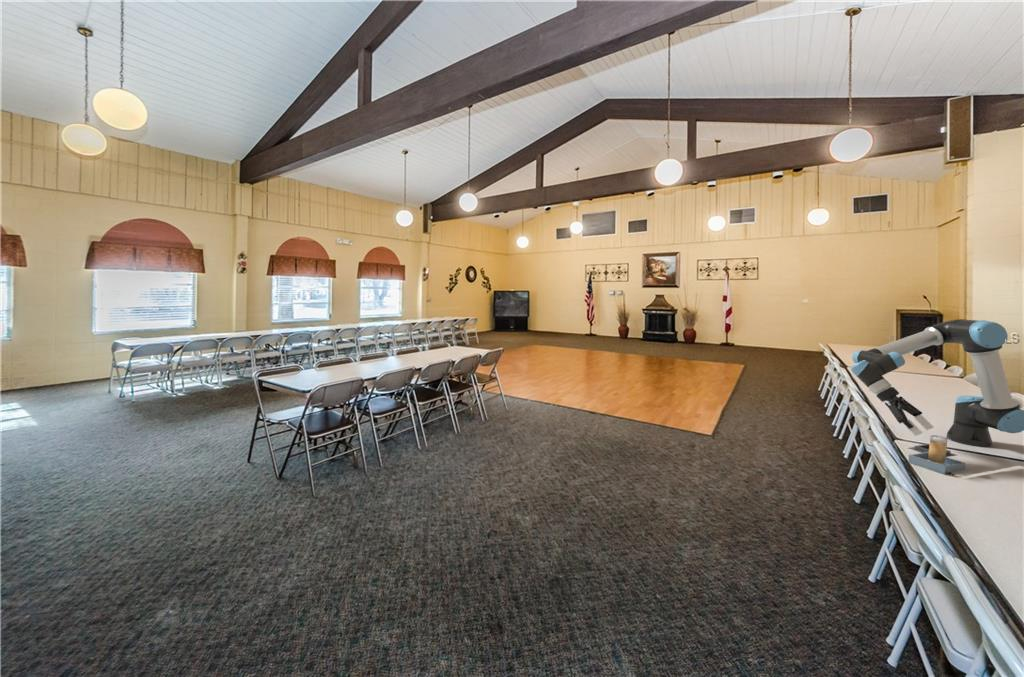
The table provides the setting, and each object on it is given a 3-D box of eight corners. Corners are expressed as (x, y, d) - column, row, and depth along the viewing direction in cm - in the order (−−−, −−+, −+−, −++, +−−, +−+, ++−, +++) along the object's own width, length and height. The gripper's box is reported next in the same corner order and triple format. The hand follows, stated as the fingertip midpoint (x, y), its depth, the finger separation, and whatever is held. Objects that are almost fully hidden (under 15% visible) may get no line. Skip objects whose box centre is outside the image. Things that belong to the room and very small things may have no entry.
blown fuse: (932, 461, 176) (935, 434, 175) (947, 466, 171) (950, 438, 170) (924, 462, 175) (927, 436, 173) (939, 467, 170) (942, 440, 168)
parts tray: (927, 459, 180) (928, 451, 180) (964, 471, 169) (965, 463, 168) (908, 462, 177) (909, 454, 177) (944, 474, 165) (945, 466, 165)
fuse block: (924, 447, 194) (925, 442, 194) (957, 457, 183) (958, 451, 182) (907, 450, 191) (907, 445, 191) (939, 460, 179) (940, 454, 179)
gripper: (886, 391, 195) (926, 430, 184) (864, 398, 183) (905, 440, 171) (902, 383, 190) (943, 422, 179) (880, 389, 177) (923, 432, 166)
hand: (925, 431), depth 175 cm, fingers open, 13 cm apart
